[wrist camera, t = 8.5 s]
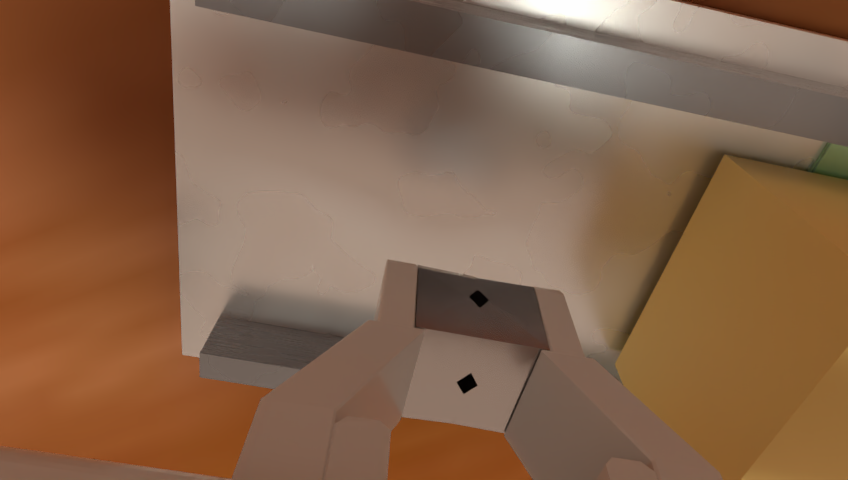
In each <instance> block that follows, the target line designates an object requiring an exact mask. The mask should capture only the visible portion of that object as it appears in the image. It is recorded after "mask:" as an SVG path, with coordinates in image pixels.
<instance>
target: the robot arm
mask: <svg viewBox="0 0 848 480" xmlns="http://www.w3.org/2000/svg"><path fill="white" fill-rule="evenodd" d="M401 417H406V418H414V419H422V420H430V421H437V422H445V423H453V424H458V425H463V426H469V427H474V428H479V429H485V430H490V431H495V432H501V433H505V434H504V436H505V438H506V439H507V441H508V442H509V444H510V445H511V447H512V449H513V450H514V452H515V453H516V455H517V456H518V458H519V459H520V461H521V462H522V464H523V465H524V467H525V468H526V470H527V471H528V473H529V474H530V476H531V477H532V479H533V480H723V478H722V476H721V474H720V472H719V471H718V470H717V469H715V468H714V467H713V466H712V465H711V464H710V463H709V462H708V461H707V460H705V459H704V458H703V457H702V456H701V455H700V454H699V453H698V452H697V451H695V450H694V449H693V448H692V447H691V446H690V445H689V444H688V443H687V442H685V441H684V440H683V439H682V438H681V437H680V436H679V435H678V434H677V433H675V432H674V431H673V430H672V429H671V428H670V427H669V426H668V425H667V424H666V423H664V422H663V421H662V420H661V419H660V418H659V417H658V416H657V415H656V414H654V413H653V412H652V411H651V410H650V409H649V408H648V407H647V406H646V405H644V404H643V403H642V402H641V401H640V400H639V399H638V398H637V397H636V396H634V395H633V394H632V393H631V392H630V391H629V390H628V389H627V388H626V387H624V386H623V385H622V384H621V383H620V382H619V381H618V380H617V379H616V378H615V377H613V376H612V375H611V374H610V373H609V372H608V371H607V370H606V369H605V368H603V367H602V366H601V365H600V364H599V363H598V362H597V361H596V360H595V359H592V358H586V357H585V356H584V353H583V350H582V347H581V344H580V341H579V338H578V335H577V332H576V329H575V326H574V323H573V320H572V317H571V314H570V311H569V308H568V306H567V303H566V300H565V297H564V294H563V293H562V292H561V291H560V290H553V289H547V288H540V287H533V286H531V287H530V286H524V285H518V284H512V283H506V282H500V281H494V280H488V279H482V278H476V277H475V276H470V275H465V274H460V273H455V272H450V271H445V270H440V269H436V268H431V267H426V266H421V265H416V264H412V263H406V262H400V261H395V260H389V259H387V262H386V265H385V269H384V274H383V279H382V283H381V288H380V293H379V298H378V302H377V307H376V312H375V317H374V321H373V320H368V321H366V322H365V323H364V324H362V325H361V326H360V327H358V328H357V329H356V330H354V331H353V332H351V333H350V334H349V335H347V336H346V337H345V338H343V339H342V340H341V341H339V342H338V343H336V344H335V345H334V346H332V347H331V348H330V349H328V350H327V351H326V352H324V353H323V354H321V355H320V356H319V357H317V358H316V359H315V360H313V361H312V362H310V363H309V364H308V365H306V366H305V367H304V368H302V369H301V370H300V371H298V372H297V373H295V374H294V375H293V376H291V377H290V378H289V379H287V380H286V381H285V382H283V383H282V384H280V385H279V386H278V387H276V388H275V389H274V390H272V391H271V392H270V393H268V394H267V395H265V396H264V397H263V398H261V400H260V402H259V405H258V408H257V411H256V413H255V416H254V419H253V422H252V424H251V427H250V430H249V433H248V435H247V438H246V441H245V444H244V446H243V449H242V452H241V454H240V457H239V460H238V463H237V465H236V468H235V471H234V474H233V476H232V479H229V478H222V477H215V476H208V475H201V474H194V473H187V472H180V471H173V470H166V469H159V468H152V467H145V466H138V465H131V464H124V463H117V462H110V461H104V460H97V459H90V458H83V457H76V456H69V455H62V454H55V453H48V452H41V451H34V450H27V449H20V448H13V447H6V446H0V480H387V475H388V462H389V449H390V436H391V431H392V430H393V428H394V427H395V426H396V425H397V424H398V422H399V421H400V420H401Z"/></svg>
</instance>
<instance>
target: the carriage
mask: <svg viewBox="0 0 848 480" xmlns="http://www.w3.org/2000/svg"><path fill="white" fill-rule="evenodd" d="M615 366H616V368H617V371H618V373H619V376H620V378H621V381H622V384H623V386H624V387H626V388H627V389H628V390H629V391H630V392H631V393H632V394H633V395H634V396H636V397H637V398H638V399H639V400H640V401H641V402H642V403H643V404H644V405H646V406H647V407H648V408H649V409H650V410H651V411H652V412H653V413H654V414H656V415H657V416H658V417H659V418H660V419H661V420H662V421H663V422H664V423H666V424H667V425H668V426H669V427H670V428H671V429H672V430H673V431H674V432H675V433H677V434H678V435H679V436H680V437H681V438H682V439H683V440H684V441H685V442H687V443H688V444H689V445H690V446H691V447H692V448H693V449H694V450H695V451H697V452H698V453H699V454H700V455H701V456H702V457H703V458H704V459H705V460H707V461H708V462H709V463H710V464H711V465H712V466H713V467H714V468H715V469H717V470H718V471H719V472H720V474H721V476H722V478H723V480H848V180H845V179H840V178H835V177H831V176H826V175H821V174H816V173H812V172H807V171H802V170H797V169H793V168H788V167H783V166H778V165H774V164H769V163H764V162H759V161H755V160H750V159H745V158H740V157H736V156H731V155H726V154H724V156H723V158H722V160H721V162H720V164H719V166H718V168H717V170H716V171H715V173H714V175H713V177H712V179H711V181H710V183H709V185H708V187H707V189H706V191H705V193H704V194H703V196H702V198H701V200H700V202H699V204H698V206H697V208H696V210H695V212H694V214H693V215H692V217H691V219H690V221H689V223H688V225H687V227H686V229H685V231H684V233H683V235H682V237H681V238H680V240H679V242H678V244H677V246H676V248H675V250H674V252H673V254H672V256H671V258H670V259H669V261H668V263H667V265H666V267H665V269H664V271H663V273H662V275H661V277H660V279H659V281H658V282H657V284H656V286H655V288H654V290H653V292H652V294H651V296H650V298H649V300H648V302H647V304H646V305H645V307H644V309H643V311H642V313H641V315H640V317H639V319H638V321H637V323H636V325H635V326H634V328H633V330H632V332H631V334H630V336H629V338H628V340H627V342H626V344H625V346H624V348H623V349H622V351H621V353H620V355H619V357H618V359H617V361H616V363H615Z"/></svg>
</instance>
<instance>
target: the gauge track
mask: <svg viewBox="0 0 848 480" xmlns="http://www.w3.org/2000/svg"><path fill="white" fill-rule="evenodd" d="M170 19H171V47H172V76H173V105H174V133H175V162H176V191H177V219H178V248H179V277H180V305H181V334H182V355H187V356H193V357H199V358H200V377H202V378H208V379H214V380H221V381H227V382H233V383H240V384H246V385H252V386H259V387H265V388H271V389H275V388H276V387H278V386H279V385H280V384H282V383H283V382H285V381H286V380H287V379H289V378H290V377H291V376H293V375H294V374H295V373H297V372H298V371H300V370H301V369H302V368H304V367H305V366H306V365H308V364H309V363H310V362H312V361H313V360H315V359H316V358H317V357H319V356H320V355H321V354H323V353H324V352H326V351H327V350H328V349H330V348H331V347H332V346H334V345H335V344H336V343H338V342H339V341H341V340H342V339H343V338H345V337H346V336H347V335H349V334H350V333H351V332H353V331H354V330H356V329H357V328H358V327H360V326H361V325H362V324H364V323H365V322H366V321H368V320H373V321H374V317H375V312H376V307H377V302H378V298H379V293H380V288H381V283H382V279H383V274H384V269H385V265H386V262H387V259H389V260H395V261H400V262H406V263H412V264H416V265H421V266H426V267H431V268H436V269H440V270H445V271H450V272H455V273H460V274H465V275H470V276H475V277H476V278H482V279H488V280H494V281H500V282H506V283H512V284H518V285H524V286H530V287H531V286H533V287H540V288H547V289H553V290H560V291H561V292H562V293H563V294H564V297H565V300H566V303H567V306H568V308H569V311H570V314H571V317H572V320H573V323H574V326H575V329H576V332H577V335H578V338H579V341H580V344H581V347H582V350H583V353H584V356H585V357H586V358H592V359H595V360H596V361H597V362H598V363H599V364H600V365H601V366H602V367H603V368H605V369H606V370H607V371H608V372H609V373H610V374H611V375H612V376H613V377H615V378H616V379H617V380H618V381H619V382H620V383H621V384H622V381H621V378H620V376H619V373H618V371H617V368H616V366H615V363H616V361H617V359H618V357H619V355H620V353H621V351H622V349H623V348H624V346H625V344H626V342H627V340H628V338H629V336H630V334H631V332H632V330H633V328H634V326H635V325H636V323H637V321H638V319H639V317H640V315H641V313H642V311H643V309H644V307H645V305H646V304H647V302H648V300H649V298H650V296H651V294H652V292H653V290H654V288H655V286H656V284H657V282H658V281H659V279H660V277H661V275H662V273H663V271H664V269H665V267H666V265H667V263H668V261H669V259H670V258H671V256H672V254H673V252H674V250H675V248H676V246H677V244H678V242H679V240H680V238H681V237H682V235H683V233H684V231H685V229H686V227H687V225H688V223H689V221H690V219H691V217H692V215H693V214H694V212H695V210H696V208H697V206H698V204H699V202H700V200H701V198H702V196H703V194H704V193H705V191H706V189H707V187H708V185H709V183H710V181H711V179H712V177H713V175H714V173H715V171H716V170H717V168H718V166H719V164H720V162H721V160H722V158H723V156H724V154H726V155H731V156H736V157H740V158H745V159H750V160H755V161H759V162H764V163H769V164H774V165H778V166H783V167H788V168H793V169H797V170H802V171H807V172H812V173H816V174H821V175H826V176H831V177H835V178H840V179H845V180H848V39H844V38H839V37H835V36H831V35H827V34H822V33H818V32H814V31H810V30H805V29H801V28H797V27H793V26H788V25H784V24H780V23H775V22H771V21H767V20H763V19H758V18H754V17H750V16H746V15H741V14H737V13H733V12H728V11H724V10H720V9H716V8H711V7H707V6H703V5H699V4H694V3H690V2H686V1H681V0H170ZM622 385H623V384H622Z"/></svg>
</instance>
